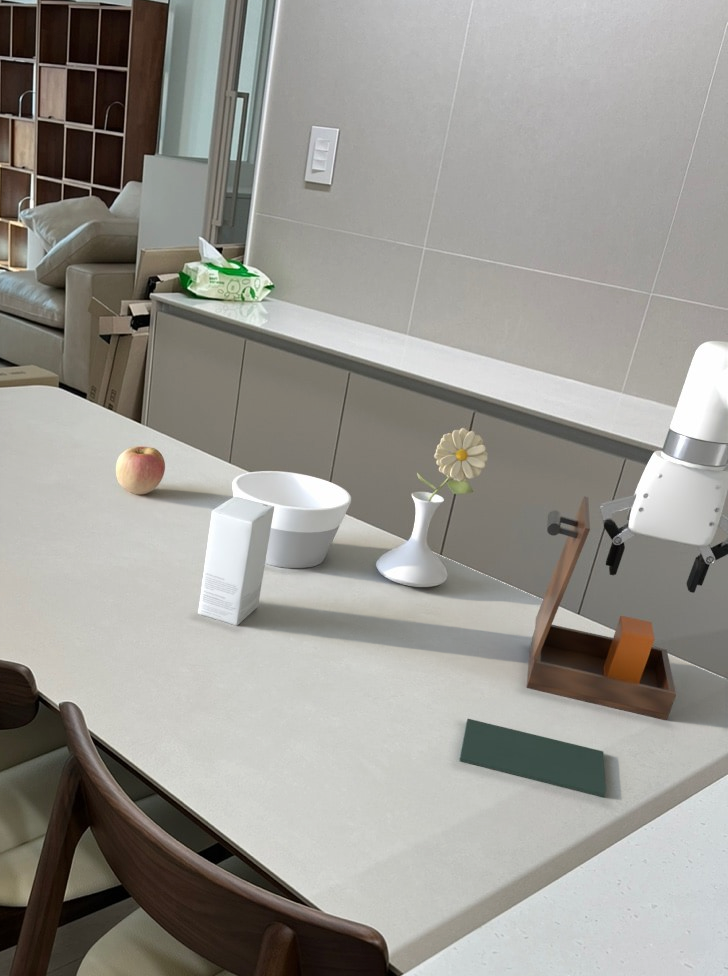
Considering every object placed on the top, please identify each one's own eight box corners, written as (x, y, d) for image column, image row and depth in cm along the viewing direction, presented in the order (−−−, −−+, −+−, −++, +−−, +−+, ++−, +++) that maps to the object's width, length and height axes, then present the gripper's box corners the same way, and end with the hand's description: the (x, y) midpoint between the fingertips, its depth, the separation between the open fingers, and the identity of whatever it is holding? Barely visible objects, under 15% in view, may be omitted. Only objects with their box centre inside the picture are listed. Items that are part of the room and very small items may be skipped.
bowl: (360, 573, 170) (372, 509, 165) (250, 576, 163) (260, 510, 158) (309, 530, 185) (320, 470, 180) (207, 532, 179) (215, 470, 174)
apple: (166, 489, 197) (171, 446, 194) (154, 502, 190) (159, 459, 186) (122, 481, 199) (125, 439, 195) (108, 494, 191) (111, 450, 187)
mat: (602, 754, 126) (603, 751, 125) (604, 797, 117) (605, 793, 117) (466, 721, 129) (467, 718, 129) (459, 761, 121) (460, 757, 120)
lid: (588, 497, 141) (555, 488, 142) (590, 529, 128) (554, 519, 129) (539, 619, 150) (509, 610, 151) (537, 660, 137) (503, 650, 138)
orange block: (633, 674, 145) (651, 621, 141) (635, 693, 140) (654, 639, 136) (603, 668, 146) (620, 615, 142) (604, 686, 140) (622, 632, 137)
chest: (658, 673, 148) (667, 649, 146) (666, 720, 135) (676, 694, 134) (530, 645, 152) (537, 621, 150) (526, 687, 139) (534, 662, 138)
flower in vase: (368, 583, 166) (401, 425, 154) (379, 560, 176) (411, 410, 164) (452, 602, 163) (491, 442, 151) (458, 577, 173) (496, 425, 161)
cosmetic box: (220, 596, 155) (234, 494, 148) (261, 608, 153) (277, 505, 146) (195, 615, 148) (208, 508, 141) (238, 627, 146) (254, 520, 139)
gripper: (768, 456, 129) (718, 585, 137) (621, 429, 133) (581, 556, 141) (778, 472, 123) (725, 606, 131) (624, 442, 126) (581, 574, 135)
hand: (650, 580), depth 136 cm, fingers open, 9 cm apart
